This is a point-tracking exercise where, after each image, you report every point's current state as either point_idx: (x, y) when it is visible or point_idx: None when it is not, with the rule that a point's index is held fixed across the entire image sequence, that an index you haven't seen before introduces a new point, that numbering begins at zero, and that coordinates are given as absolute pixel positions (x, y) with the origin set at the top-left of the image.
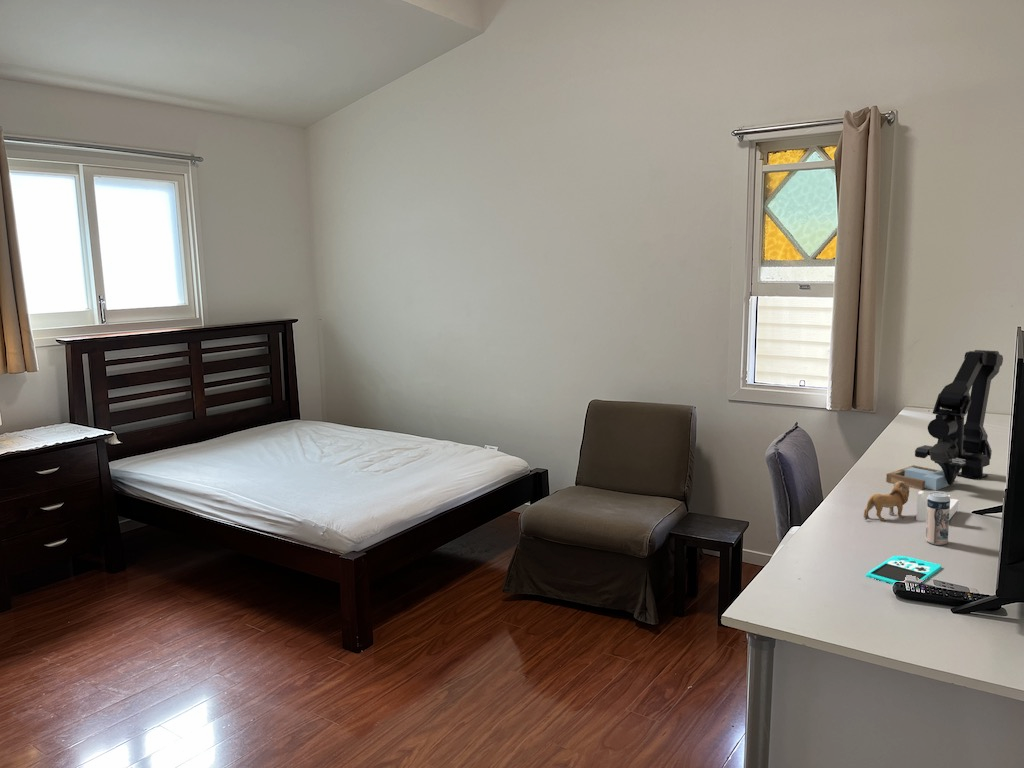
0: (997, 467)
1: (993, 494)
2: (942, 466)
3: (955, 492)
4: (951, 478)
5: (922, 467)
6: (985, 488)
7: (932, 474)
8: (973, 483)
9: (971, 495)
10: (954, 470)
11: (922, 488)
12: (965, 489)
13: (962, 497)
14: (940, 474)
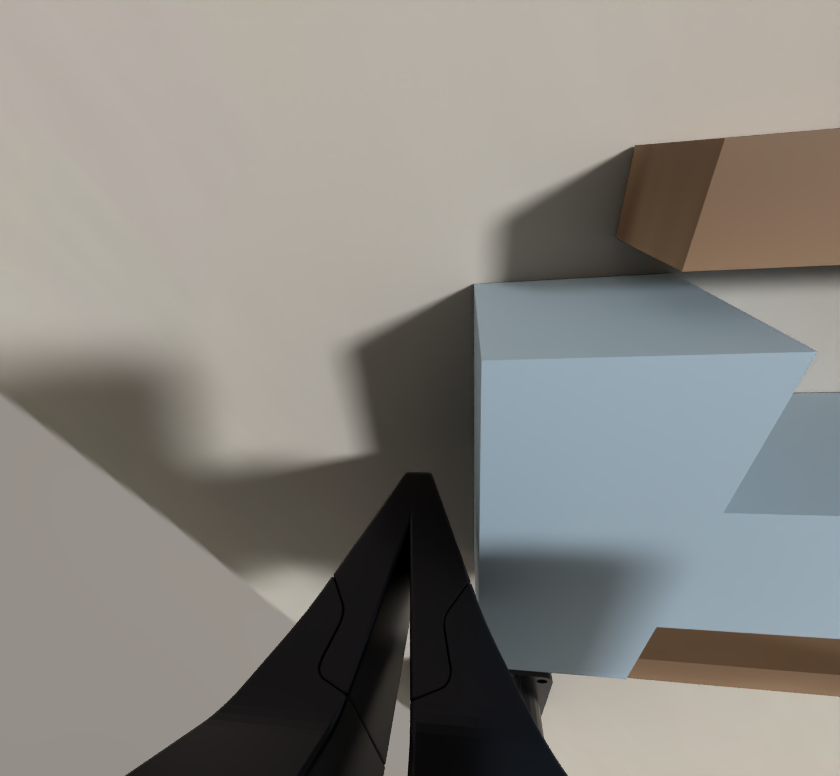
0: None
1: (157, 507)
2: (499, 756)
3: (308, 376)
4: (371, 532)
5: (820, 688)
6: (287, 573)
7: (647, 535)
8: None
9: (175, 391)
10: (259, 676)
11: (642, 158)
12: (332, 497)
13: (132, 263)
14: (551, 581)
